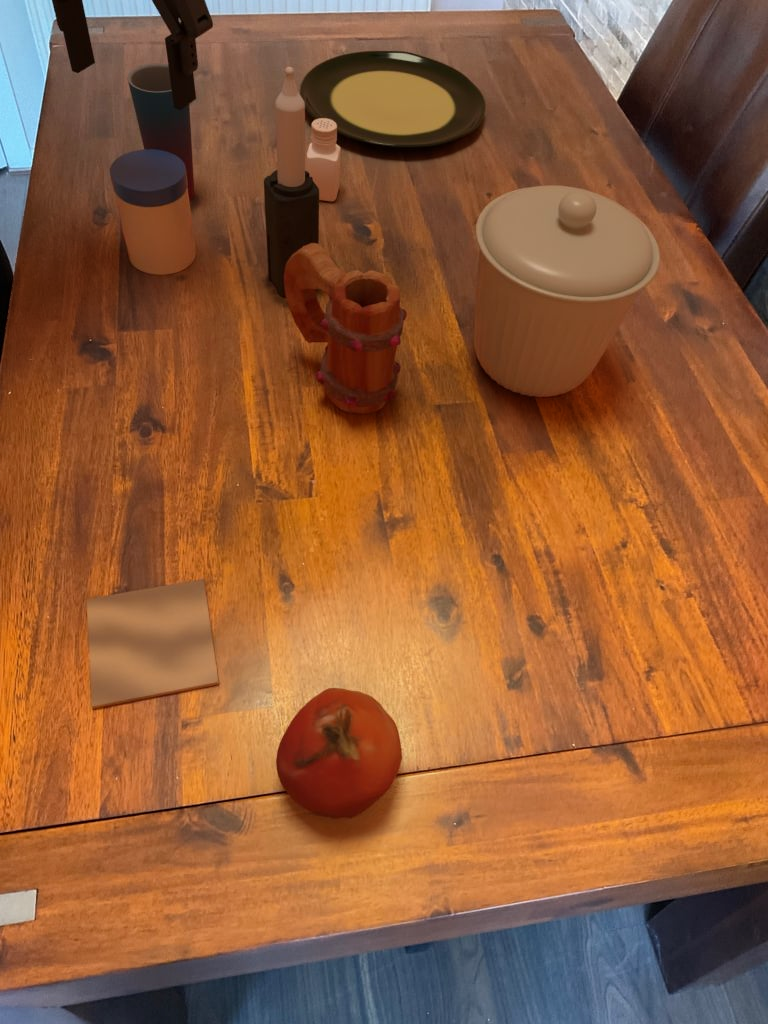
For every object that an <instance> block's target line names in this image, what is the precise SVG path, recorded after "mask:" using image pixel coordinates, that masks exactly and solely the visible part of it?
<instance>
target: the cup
mask: <svg viewBox="0 0 768 1024" xmlns="http://www.w3.org/2000/svg"><path fill="white" fill-rule="evenodd" d="M127 82H128V83H127V84H128V87H129V91H130V95H131V99H132V104H133V108H134V113H135V117H136V120H137V124H138V129H139V133H140V137H141V141H142V145H143V150H144V149H155V150H162V151H166V152H169V153H172V154H174V155H176V156H177V157H179V158H180V159H181V160H182V161H183V162H184V164H185V167H186V174H187V181H188V186H187V187H188V195H189V202H191V201H192V200H193V199H194V197H195V181H194V180H195V179H194V163H193V161H194V160H193V144H192V127H191V126H192V125H191V112H190V111H191V108H190V104H188V105H187V106H186V107H184V108H183V109H181V110H178V109H175V108H174V104H173V96H172V89H171V81H170V74H169V66H168V63H164V62H163V63H162V62H153V63H151V62H150V63H146V64H142V65H138V66H136V67H134V68H133V69H131V71H129V72H128V74H127Z"/></svg>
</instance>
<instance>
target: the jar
mask: <svg viewBox="0 0 768 1024" xmlns="http://www.w3.org/2000/svg"><path fill="white" fill-rule="evenodd" d="M114 194H115V199H116V205H117V210H118V213H119V219H120V222H121V228H122V232H123V237H124V241H125V246H126V252H127V255H128V260H129V262H130V264H131V265H132V266H133V267H134V268H135V269H137V270H138V271H140V272H143V273H146V274H150V275H156V276H165V275H173V274H177V273H180V272H182V271H183V270H185V269H187V268H189V267H190V266H191V265H192V264H193V263H194V261H195V259H196V256H197V249H196V242H195V241H196V240H195V234H194V225H193V219H192V211H191V202H190V201H189V195H188V187H187V189H186V191H185V193H184V194H183V195H182V196H181V197H180V198H178V199H177V200H175V201H172V202H170V203H167V204H164V205H158V206H140V205H135V204H131V203H128V202H126V201H124V200H122V199H121V198H119V197H118V196H117V195H116V193H115V192H114Z"/></svg>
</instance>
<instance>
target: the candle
mask: <svg viewBox="0 0 768 1024" xmlns="http://www.w3.org/2000/svg"><path fill="white" fill-rule="evenodd" d="M284 73H285V78H284V80H283V81H284V82H283V85H282V88H281V91H280V93H279V94H278V96H277V97H276V99H275V102H274V108H275V139H276V140H275V141H276V170H274V171H273V172H272V173H271V174H269V175H267V176H266V177H265V178H264V179H263V195H264V215H265V217H264V218H265V237H266V258H267V259H266V260H267V277H268V280H269V281H271V282H272V284H273V286H274V287H275V289H276V291H277V294H278V295H279V296H280V297H283V298H286V294H285V286H284V273H285V266H286V264H287V262H288V260H289V259H290V257H291V256H292V255H293V254H294V253H295V252H297V251H298V250H299V249H301V248H302V247H303V246H306V245H308V244H310V243H317V244H319V242H320V241H319V239H320V233H319V232H320V200H319V188H318V187H317V185H316V184H315V183H314V181H313V178H312V177H310V176H309V173H308V172H307V170H306V108H305V103H304V100H303V99H302V97H301V96H300V92H299V90H298V88H297V84H296V81H295V77H294V73H295V70H294V68H293V67H292V66H287V67H286V68H285V69H284ZM319 245H320V244H319Z"/></svg>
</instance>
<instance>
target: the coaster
mask: <svg viewBox="0 0 768 1024" xmlns="http://www.w3.org/2000/svg"><path fill="white" fill-rule="evenodd" d="M85 602H86V618H87V619H86V620H87V623H86V624H87V642H88V644H87V645H88V662H89V663H88V666H89V685H90V706H91V708H92V710H95V709H100V708H104V707H105V708H106V707H110V706H115V705H119V704H125V703H130V702H135V701H141V700H145V699H150V698H155V697H161V696H165V695H171V694H177V693H181V692H186V691H191V690H192V691H193V690H197V689H203V688H206V687H213V686H217V685H219V684H220V680H219V672H218V666H217V658H216V652H215V646H214V645H215V644H214V638H213V630H212V623H211V617H210V609H209V604H208V596H207V590H206V582H205V579H204V578H202V579H201V578H200V579H195V580H189V581H184V582H178V583H171V584H165V585H160V586H155V587H149V588H143V589H137V590H130V591H125V592H119V593H113V594H106V595H101V596H95V597H89V598H86V601H85Z"/></svg>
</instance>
